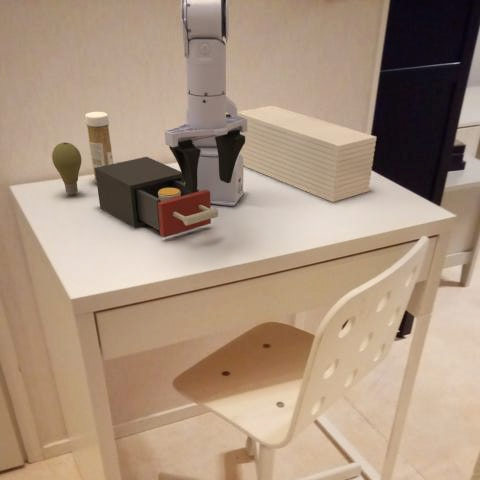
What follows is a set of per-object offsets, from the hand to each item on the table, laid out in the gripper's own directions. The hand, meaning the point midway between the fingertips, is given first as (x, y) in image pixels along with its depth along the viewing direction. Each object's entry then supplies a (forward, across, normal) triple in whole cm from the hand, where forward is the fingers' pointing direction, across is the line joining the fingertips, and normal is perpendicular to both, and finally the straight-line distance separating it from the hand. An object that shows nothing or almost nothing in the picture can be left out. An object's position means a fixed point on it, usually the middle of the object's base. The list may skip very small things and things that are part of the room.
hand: (208, 185), depth 99 cm
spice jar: (+11, +3, +40) cm, 42 cm away
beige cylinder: (+8, 0, +12) cm, 14 cm away
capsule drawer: (+10, 0, +10) cm, 14 cm away
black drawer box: (+10, 0, +22) cm, 24 cm away
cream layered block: (+11, +38, +18) cm, 44 cm away
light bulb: (+11, -6, +38) cm, 40 cm away
